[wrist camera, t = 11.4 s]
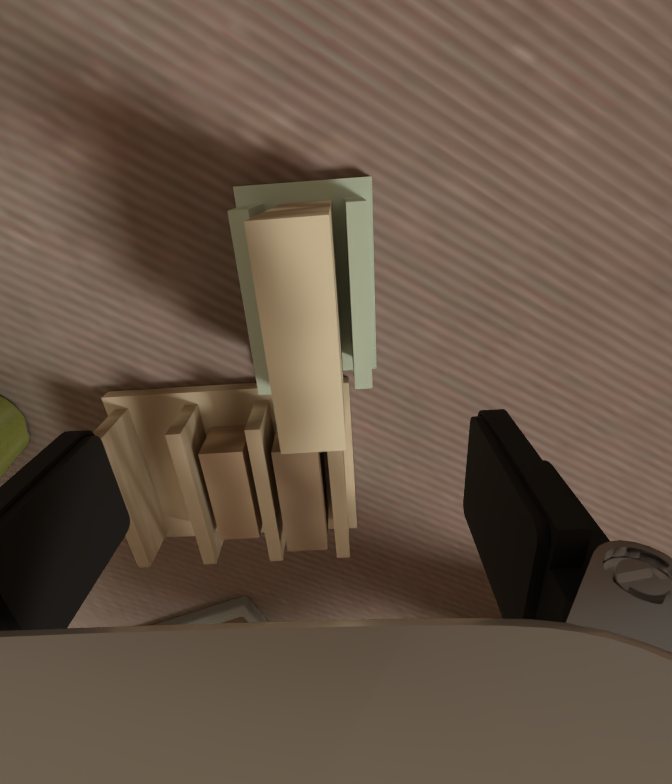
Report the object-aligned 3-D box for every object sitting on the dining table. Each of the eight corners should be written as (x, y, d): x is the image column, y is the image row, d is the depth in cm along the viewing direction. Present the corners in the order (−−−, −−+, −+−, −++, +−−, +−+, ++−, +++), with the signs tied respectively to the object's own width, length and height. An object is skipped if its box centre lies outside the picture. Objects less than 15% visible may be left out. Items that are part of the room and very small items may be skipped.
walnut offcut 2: (319, 414, 31) (317, 449, 27) (328, 507, 35) (327, 549, 31) (279, 417, 31) (271, 452, 27) (292, 509, 35) (287, 551, 31)
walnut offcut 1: (251, 424, 31) (241, 451, 28) (266, 505, 35) (259, 537, 32) (211, 427, 31) (198, 454, 28) (230, 507, 35) (220, 539, 32)
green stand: (370, 176, 25) (380, 175, 19) (375, 362, 30) (383, 402, 25) (236, 186, 25) (209, 188, 20) (265, 369, 30) (250, 410, 25)
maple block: (331, 199, 24) (328, 214, 15) (342, 358, 29) (346, 450, 19) (280, 203, 24) (243, 221, 15) (299, 361, 29) (281, 454, 19)
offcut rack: (348, 376, 31) (350, 410, 26) (356, 519, 37) (359, 565, 33) (107, 391, 31) (70, 427, 27) (156, 529, 38) (133, 576, 33)
